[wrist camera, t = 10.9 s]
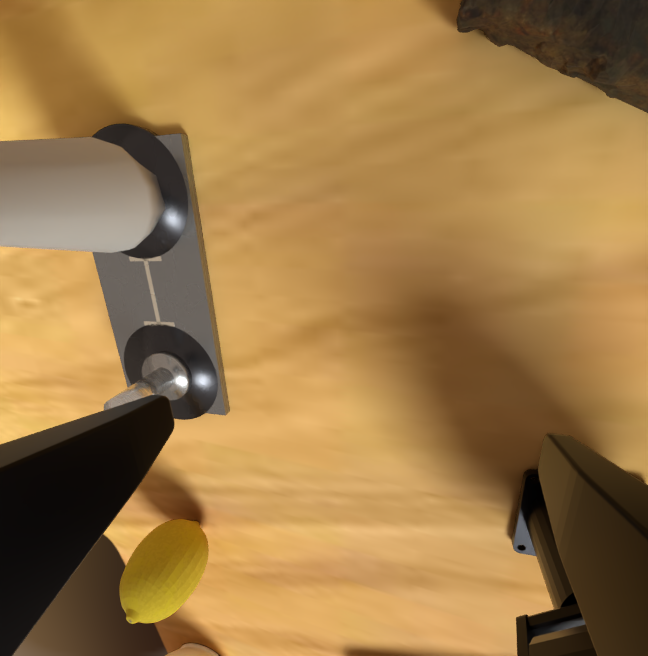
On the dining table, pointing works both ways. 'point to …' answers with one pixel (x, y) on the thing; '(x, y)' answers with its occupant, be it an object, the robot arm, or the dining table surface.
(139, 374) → the plate
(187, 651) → the lidded jar
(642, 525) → the robot arm
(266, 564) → the dining table surface
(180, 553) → the lemon
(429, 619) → the dining table surface
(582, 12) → the hand tool
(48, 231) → the salt shaker
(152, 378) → the fixed steel pin
